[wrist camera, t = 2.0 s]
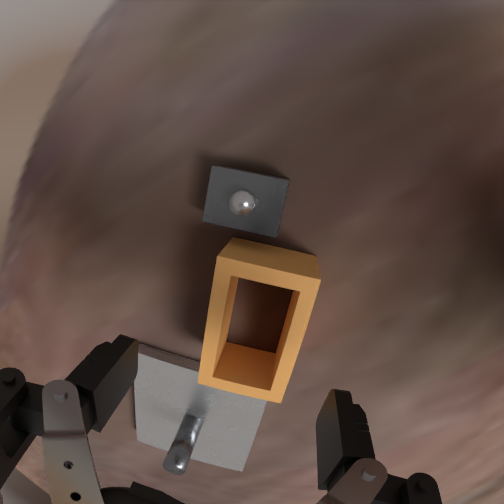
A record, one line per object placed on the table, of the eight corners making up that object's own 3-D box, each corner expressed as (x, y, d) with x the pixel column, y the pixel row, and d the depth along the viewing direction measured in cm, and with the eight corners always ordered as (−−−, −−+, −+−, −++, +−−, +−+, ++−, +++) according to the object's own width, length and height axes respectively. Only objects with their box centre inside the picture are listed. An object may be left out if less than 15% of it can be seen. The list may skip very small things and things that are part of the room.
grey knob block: (289, 179, 17) (288, 181, 15) (278, 230, 18) (275, 241, 16) (220, 165, 18) (207, 165, 15) (211, 215, 19) (197, 224, 16)
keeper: (272, 379, 21) (262, 443, 15) (244, 462, 24) (232, 514, 19) (140, 343, 22) (100, 392, 16) (142, 432, 25) (116, 477, 19)
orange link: (316, 256, 18) (320, 279, 15) (284, 364, 21) (280, 403, 17) (233, 236, 19) (217, 256, 15) (213, 348, 21) (197, 383, 17)
